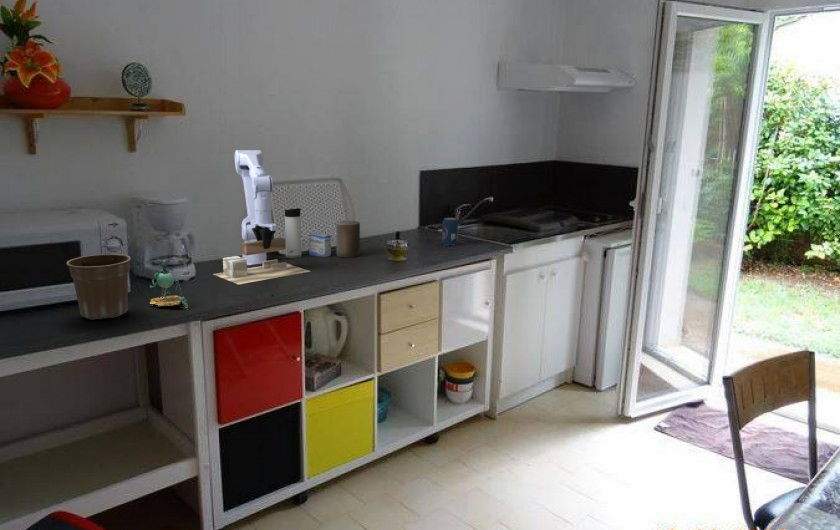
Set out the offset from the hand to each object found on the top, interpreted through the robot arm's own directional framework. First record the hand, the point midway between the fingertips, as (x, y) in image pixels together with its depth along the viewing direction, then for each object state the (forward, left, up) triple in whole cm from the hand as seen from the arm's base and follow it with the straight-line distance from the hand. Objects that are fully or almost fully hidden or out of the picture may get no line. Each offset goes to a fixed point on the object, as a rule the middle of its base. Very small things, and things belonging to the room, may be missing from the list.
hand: (264, 247), depth 239 cm
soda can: (+6, +91, -10) cm, 92 cm away
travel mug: (-16, +23, -10) cm, 30 cm away
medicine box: (-12, +33, -10) cm, 36 cm away
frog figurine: (+16, -43, -10) cm, 47 cm away
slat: (0, 0, -2) cm, 2 cm away
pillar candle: (-5, +42, -10) cm, 43 cm away
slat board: (+3, -3, -9) cm, 10 cm away
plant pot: (+14, -61, -10) cm, 63 cm away
